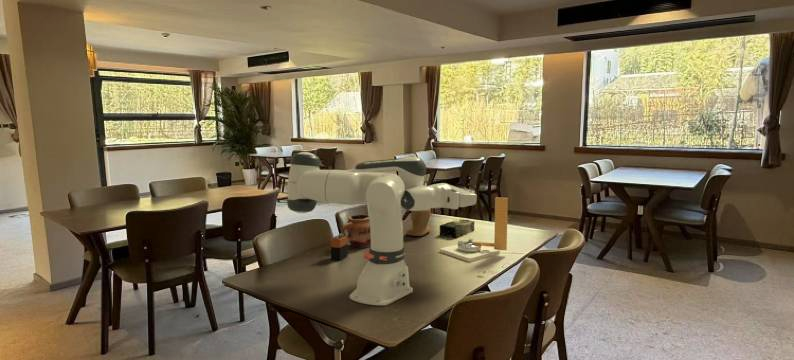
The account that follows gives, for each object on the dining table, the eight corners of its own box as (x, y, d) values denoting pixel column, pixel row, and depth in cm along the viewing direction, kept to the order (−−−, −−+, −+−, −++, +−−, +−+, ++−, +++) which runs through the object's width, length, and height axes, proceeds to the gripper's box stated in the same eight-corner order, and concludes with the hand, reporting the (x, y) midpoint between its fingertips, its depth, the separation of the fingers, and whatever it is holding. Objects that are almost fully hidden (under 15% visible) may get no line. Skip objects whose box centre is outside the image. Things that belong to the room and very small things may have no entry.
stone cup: (424, 239, 221) (424, 208, 219) (402, 236, 227) (402, 206, 225) (437, 232, 234) (437, 203, 232) (416, 229, 240) (416, 201, 238)
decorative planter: (353, 253, 198) (353, 222, 196) (334, 249, 206) (333, 218, 204) (383, 243, 214) (383, 214, 212) (364, 239, 221) (363, 211, 219)
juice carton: (459, 228, 243) (459, 217, 242) (476, 231, 237) (476, 219, 236) (438, 236, 227) (438, 224, 226) (455, 240, 221) (456, 227, 220)
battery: (348, 256, 194) (347, 233, 193) (339, 261, 188) (339, 237, 187) (339, 255, 196) (338, 232, 195) (330, 260, 190) (329, 236, 189)
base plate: (469, 262, 185) (469, 257, 185) (439, 251, 200) (439, 248, 200) (499, 253, 196) (499, 250, 196) (469, 244, 210) (469, 241, 210)
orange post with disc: (455, 251, 194) (456, 198, 191) (459, 245, 204) (460, 194, 201) (505, 255, 188) (506, 200, 185) (507, 248, 198) (508, 196, 195)
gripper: (424, 196, 180) (452, 192, 187) (457, 210, 163) (486, 206, 171) (425, 181, 179) (453, 177, 186) (458, 193, 162) (488, 189, 169)
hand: (469, 191), depth 178 cm, fingers closed
